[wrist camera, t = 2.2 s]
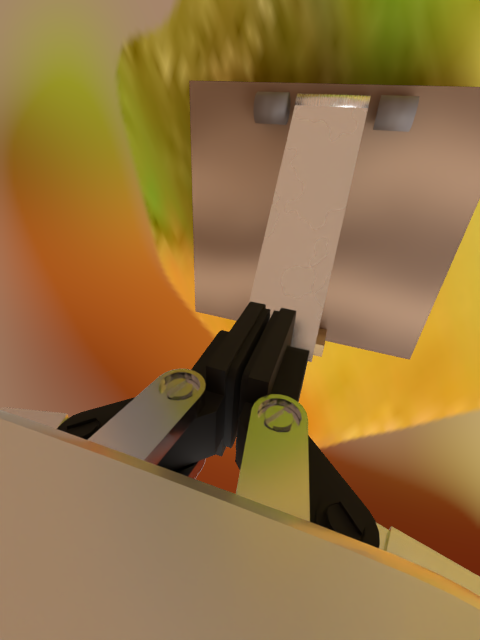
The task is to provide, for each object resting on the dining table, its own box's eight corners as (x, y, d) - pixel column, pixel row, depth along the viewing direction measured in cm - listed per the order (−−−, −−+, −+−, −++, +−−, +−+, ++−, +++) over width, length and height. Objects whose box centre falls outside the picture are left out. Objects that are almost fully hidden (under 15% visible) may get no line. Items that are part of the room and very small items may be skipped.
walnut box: (226, 92, 19) (170, 74, 14) (484, 100, 16) (551, 81, 10) (221, 283, 26) (183, 323, 20) (400, 319, 22) (413, 378, 17)
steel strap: (298, 103, 14) (298, 88, 13) (368, 105, 13) (372, 90, 12) (242, 344, 14) (238, 344, 13) (311, 361, 13) (311, 362, 12)
